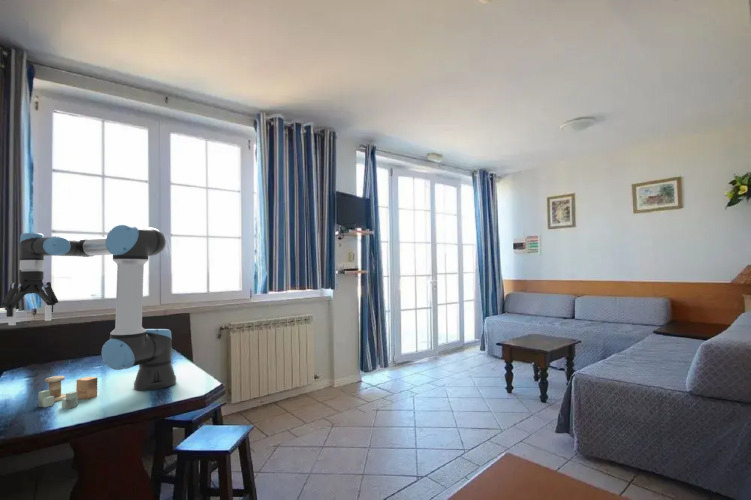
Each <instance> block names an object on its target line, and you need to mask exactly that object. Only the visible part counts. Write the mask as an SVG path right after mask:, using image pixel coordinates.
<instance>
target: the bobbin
mask: <svg viewBox="0 0 751 500" xmlns="http://www.w3.org/2000/svg"><path fill="white" fill-rule="evenodd" d="M65 378H66V377H65V375H54V376H50V377H47V378H44V382H45V383H46V384H47V383H48V390H50V396H54V403H55V402H62V399H64V398H66V393H62V381H64V380H65Z"/></svg>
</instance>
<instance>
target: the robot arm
mask: <svg viewBox="0 0 751 500" xmlns="http://www.w3.org/2000/svg"><path fill="white" fill-rule="evenodd" d="M19 239H20V240H19V243H18V244H19V272H18V273H19V274H18V279H19V282H12V283H10V286H9V287H10V288H9V289H8V292H7V293H6V294H5V296H4V299H3V300H2V301H1V304H0V307H1V308H4V309H5V310H6V318H8V321H7V322H8V324H7V325H8V326H16V325H17V323H16V322H17V308H15V307H16V306H17V304H19V302H20V301H21V300H22V299H23V298H24V297H25V296H26V295H28V294H29V295H31V294H36V295H38V296H39V298H41V300H42V301H43V302H44V303H45V305H44V321H45V322H47V321H49V322H50V321H52V313H54V306H55V305H56V304H58V303H59V300H58V298H57V295H56V293H55V291H54V290H53V288H52V283H51V281H45V282H43V281H44V273H45V272H44V269H45V259H44V258H45V257H46V256H51V257H52V256H54V257H55V256H57V257H58V256H61V257H83V258H88V257H94V256H105V255H106V256H108V255H112V261H113V262H115V264H116V267H117V269H116V293H115V294H116V299H115V323H114V325H115V328H114V329H113V330H112V331H111V332H110V333H109V334H110V335H109V339H108V340H107V341H105V343H104V344H103V345H102V348H101V358H102V360H103V362H104V363H105V364H106V365H107V367H108V368H110V369H112V370H114V371H115V370H116V371H121V370H128V369H131V368H133V367H137V366H138V367H139V368H138V371H137V374H136V377H135V380H134V382H133V389H134V390H135V391H154V390H160V389H164V388H168V387H172V386H174V385H175V384H177V376H176V375H175V374H176V373H175V371H174V368H173V365H172V349H173V348H172V347H173V346H172V344H173V343H172V341H173V338H172V331H171V330H170V329H168V328H144V327H143V300H144V299H143V298H144V297H143V296H144V265H145V264H146V263H147V262H149V257H153V256H157V255H158V254H160V253H161V252H163V250H164V248H166V237H165V235H164V234H163V232H161V231H160V230H159V229H157V228H154V227H150V226H149V227H147V226H141V225H135V224H118V225H115V226H114V227H112V228H111V230H109V231H108V233H107V235H106V237H105V236H104V237H95V238H67V237H64V236H47V237H46V236H45V235H44V234H43V233H38V232H24V233H21V234H20V238H19ZM43 288H44V289H43ZM18 289H19V290H18Z"/></svg>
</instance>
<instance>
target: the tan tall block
mask: <svg viewBox="0 0 751 500" xmlns="http://www.w3.org/2000/svg"><path fill="white" fill-rule="evenodd" d="M75 389H76V391H77V392H78V395H77V400H90V399H93V398H96V397H98V376H85V377H82V378H77V379H76V387H75Z"/></svg>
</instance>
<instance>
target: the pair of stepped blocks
mask: <svg viewBox="0 0 751 500" xmlns="http://www.w3.org/2000/svg"><path fill="white" fill-rule="evenodd" d="M65 394H66V398H64V399H62V400H61V409H73V408H76V407H78V399H77V395H78V392H77V391H75V390H73V391H69V392H66V393H65ZM37 403H38V404H37V405H38V407H40V408H41V407H42V408H48V407H51V406H54V405H55V402H54V396H50V390H49V389H44V390H42V391H39V392H38V399H37Z"/></svg>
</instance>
